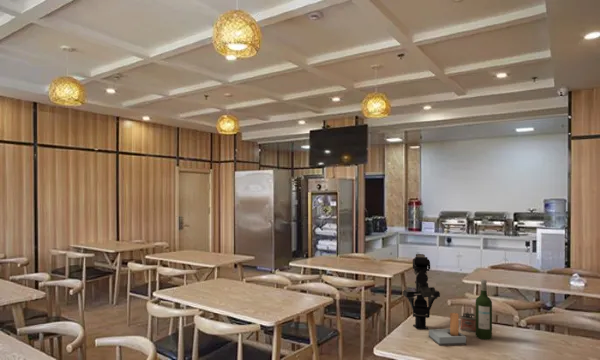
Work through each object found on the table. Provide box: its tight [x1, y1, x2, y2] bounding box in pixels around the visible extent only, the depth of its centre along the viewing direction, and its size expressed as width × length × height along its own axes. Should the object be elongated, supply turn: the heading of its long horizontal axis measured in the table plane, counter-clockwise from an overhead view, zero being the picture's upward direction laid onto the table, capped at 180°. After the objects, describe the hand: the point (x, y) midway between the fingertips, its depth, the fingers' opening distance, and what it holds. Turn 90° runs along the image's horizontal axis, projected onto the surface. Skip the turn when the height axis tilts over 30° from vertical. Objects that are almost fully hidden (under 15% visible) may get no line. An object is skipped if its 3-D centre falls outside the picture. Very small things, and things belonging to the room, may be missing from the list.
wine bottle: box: [475, 279, 493, 341], centre depth 216 cm, size 8×8×30 cm
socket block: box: [428, 328, 467, 346], centre depth 210 cm, size 12×14×4 cm
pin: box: [449, 312, 460, 336], centre depth 209 cm, size 4×4×13 cm
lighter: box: [459, 311, 476, 334], centre depth 225 cm, size 8×3×10 cm, turn 62°
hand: (421, 309), depth 219 cm, fingers open, 9 cm apart
